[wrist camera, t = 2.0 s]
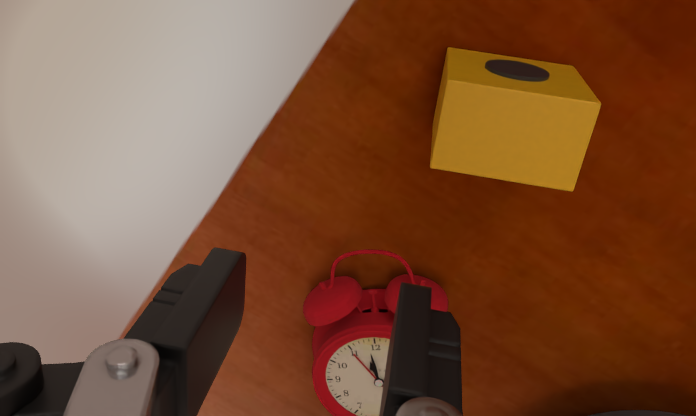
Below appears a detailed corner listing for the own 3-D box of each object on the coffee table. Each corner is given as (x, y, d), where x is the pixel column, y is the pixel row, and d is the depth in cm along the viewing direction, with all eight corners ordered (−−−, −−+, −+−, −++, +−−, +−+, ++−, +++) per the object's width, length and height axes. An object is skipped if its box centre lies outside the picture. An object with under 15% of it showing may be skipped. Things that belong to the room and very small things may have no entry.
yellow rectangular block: (432, 122, 36) (429, 168, 30) (448, 43, 34) (448, 75, 28) (558, 142, 36) (581, 193, 29) (582, 63, 33) (612, 100, 27)
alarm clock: (318, 447, 45) (270, 312, 35) (329, 375, 49) (290, 239, 40) (461, 451, 43) (451, 309, 33) (459, 375, 47) (450, 233, 38)
